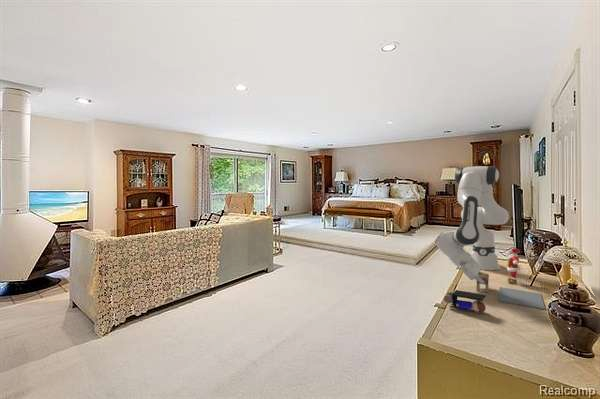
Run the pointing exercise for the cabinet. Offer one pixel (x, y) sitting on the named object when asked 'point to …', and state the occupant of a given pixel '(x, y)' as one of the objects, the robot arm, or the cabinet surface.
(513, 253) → the santa figurine
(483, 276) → the stool
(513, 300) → the mat
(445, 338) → the cabinet surface
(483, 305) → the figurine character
